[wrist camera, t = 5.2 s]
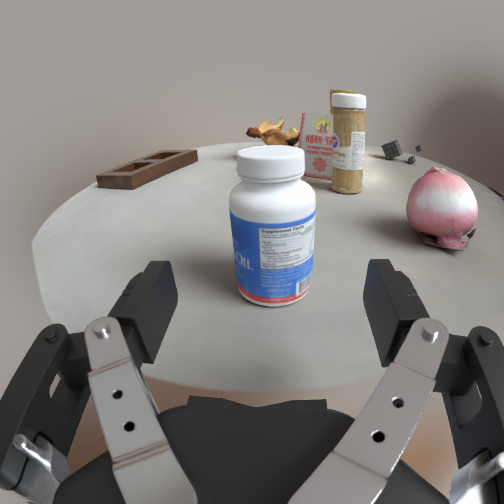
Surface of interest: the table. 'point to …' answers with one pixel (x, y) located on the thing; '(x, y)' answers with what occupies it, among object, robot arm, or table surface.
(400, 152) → the building blocks
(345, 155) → the sprinkles bottle
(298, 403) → the robot arm
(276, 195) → the pill bottle
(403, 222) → the table surface
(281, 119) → the orange curved piece
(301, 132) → the white gabled box
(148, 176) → the socket base
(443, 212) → the onion
